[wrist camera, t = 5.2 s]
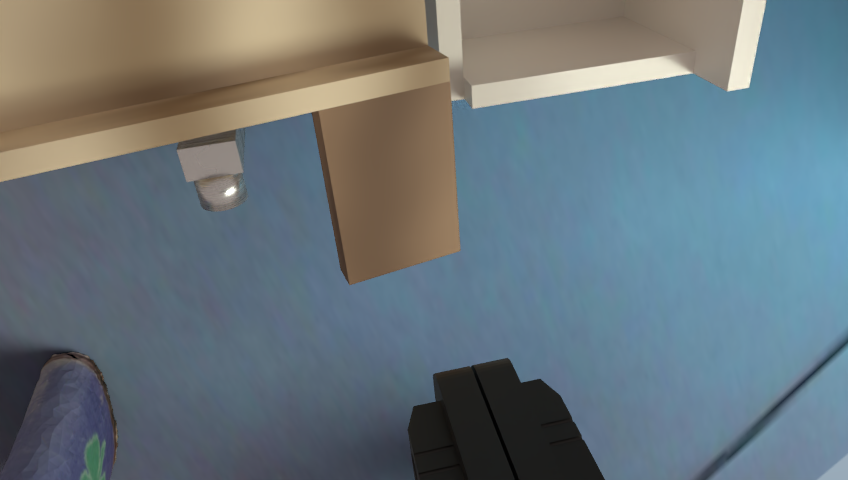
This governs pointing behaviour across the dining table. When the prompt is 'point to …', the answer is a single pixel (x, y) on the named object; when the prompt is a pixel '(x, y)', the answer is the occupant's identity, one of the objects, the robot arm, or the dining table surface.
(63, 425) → the flask
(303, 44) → the chute
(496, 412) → the robot arm
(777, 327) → the dining table surface
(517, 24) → the white open bin
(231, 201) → the stand
